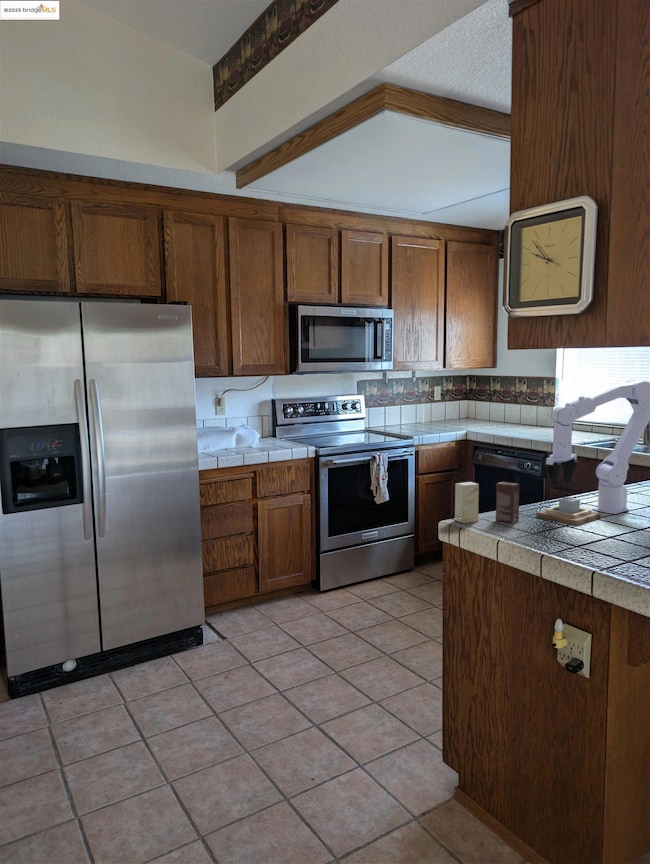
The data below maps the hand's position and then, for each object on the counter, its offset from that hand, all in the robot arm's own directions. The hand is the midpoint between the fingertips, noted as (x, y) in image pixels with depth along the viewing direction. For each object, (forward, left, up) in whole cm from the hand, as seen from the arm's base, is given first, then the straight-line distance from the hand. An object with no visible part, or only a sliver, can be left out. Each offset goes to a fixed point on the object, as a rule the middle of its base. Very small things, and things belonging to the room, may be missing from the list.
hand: (560, 483), depth 203 cm
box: (+23, -4, -10) cm, 25 cm away
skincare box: (+33, -12, -10) cm, 36 cm away
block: (+5, +6, -8) cm, 11 cm away
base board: (+5, +6, -9) cm, 12 cm away
